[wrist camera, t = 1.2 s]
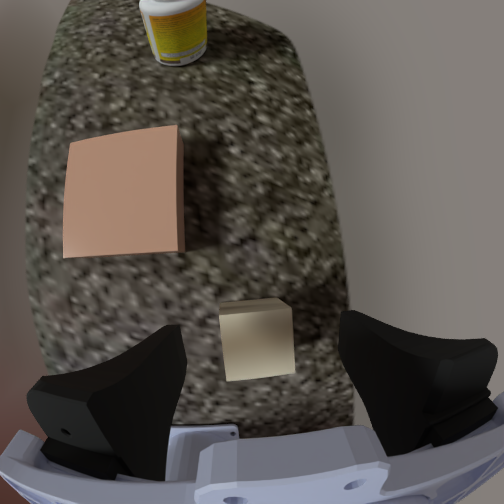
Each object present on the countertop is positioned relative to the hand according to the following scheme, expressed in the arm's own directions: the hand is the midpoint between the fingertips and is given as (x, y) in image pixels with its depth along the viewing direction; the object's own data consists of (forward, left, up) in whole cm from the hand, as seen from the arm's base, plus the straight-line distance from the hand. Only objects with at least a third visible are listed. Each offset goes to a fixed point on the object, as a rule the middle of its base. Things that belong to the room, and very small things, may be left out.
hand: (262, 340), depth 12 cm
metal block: (-2, 0, -10) cm, 10 cm away
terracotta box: (+9, +9, -10) cm, 16 cm away
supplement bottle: (+25, +5, -10) cm, 27 cm away
